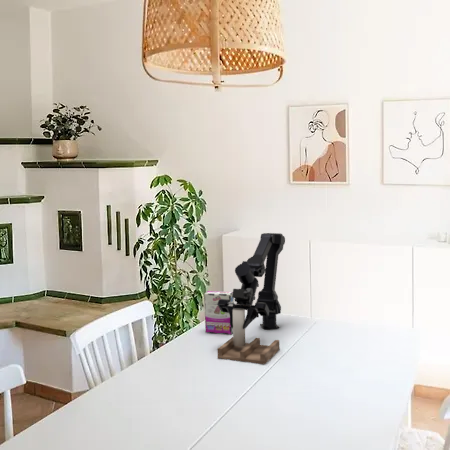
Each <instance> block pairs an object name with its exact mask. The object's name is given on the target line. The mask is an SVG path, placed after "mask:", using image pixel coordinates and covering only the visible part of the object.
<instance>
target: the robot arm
mask: <svg viewBox="0 0 450 450" xmlns="http://www.w3.org/2000/svg"><path fill="white" fill-rule="evenodd" d="M285 237H286V236H284V235H283V233H280V232H279V233H275V232H268V233H267V232H265V233H264V232H263V233H261V234H260V240H259V241H258V244H257V247H256V249H255V251H254V253H253V255H251V256H250V257H249V258H247V260H242V262H241V263H240V264H238V265H237V266H236V267H235V269H234V272H235V275H236V277H237V278H238V280H239V282H240V283H241V287H240V288H233V289H232V292H233V295H232V298H234V303H232V302H230V300H229V299H220V300H219V301H218V304H217V305H218V307H219V308H220V310H221V311H222V312H226V313H229V314H230V324H231V328H233V309H235V308H243V309H245V311H246V314H245V321H244V325H243V329H245V330H246V328H247V327H249V325H250V324H251V323H252V322H253V321H255V319H257V318H260V317H262V323H260V325H259V326H260V327H261V328H262V329H263V330H273V329H275V330H276V329H279V328H280V326H279V325H278V324H277V315H279V314H281V311H282V306H281V303H280V302H279V300H278V299H279V296H278V294H277V292H276V282H277V281H276V280H277V272H278V261H279V255H280V254H281V252H282V251H283V250H284V245H285V243H286V238H285ZM263 276H264V280H263V287H262V289H261V290H259V292H258V294H257V299H256V293H257V289H258V287H259V286H260V285H259V280H258V278H262V277H263ZM255 300H256V302H255V304H253V303H254V301H255Z"/></svg>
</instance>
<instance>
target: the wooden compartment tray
mask: <svg viewBox="0 0 450 450" xmlns="http://www.w3.org/2000/svg"><path fill="white" fill-rule="evenodd" d="M280 347H281V346H280V340H279V339H275V340H273V341H272V342H271V343H270V344H269V345H266V344H265V345H264V344H261V337H255V338H254V339H253V340H251V342H250V343H249V342H245V345H244V346H234V345H233V336H231V338H230V339H228V340H227V341H226V342H225V343H223V344H222V345H220V346H219V347H218V348H217V359H220V358H222V359H221V360H227V359H230V360H229V361H235V360H236V361H237V362H245V363H252V364H259V365H260V364H261V365H266V364H267V363H268V362H269V361H270V360H271V359H272V358H273V357H274V356H275V355H276V354H277V353H278V352H279V351H280V350H281V349H280Z"/></svg>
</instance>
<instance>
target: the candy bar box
mask: <svg viewBox="0 0 450 450" xmlns="http://www.w3.org/2000/svg"><path fill="white" fill-rule="evenodd" d="M203 295H204V298H203V299H204V319H205V321H204V324H205V326H204V327H205V333H206V332H210V333H209V334H217V333H225V334H224V335H233V328H231V324H230V314H229V313H226V312H222V311H221V310H220V308H219V307H218V305H217V304H218V301H219V300H220V299H229V300H230V302H232V303H234V304H235V298H232V295H233V291H218V290H217V291H215V290H211V291H209V290H207V291H206V292H205V293H204V294H203Z"/></svg>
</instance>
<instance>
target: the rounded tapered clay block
mask: <svg viewBox="0 0 450 450" xmlns="http://www.w3.org/2000/svg"><path fill="white" fill-rule="evenodd" d="M245 318H246V310H245V309H243V308H235V309H233V333H232V337H233V345H234V346H244V345H245V343H246V328H245V329H243V325H244V321H245Z"/></svg>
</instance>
